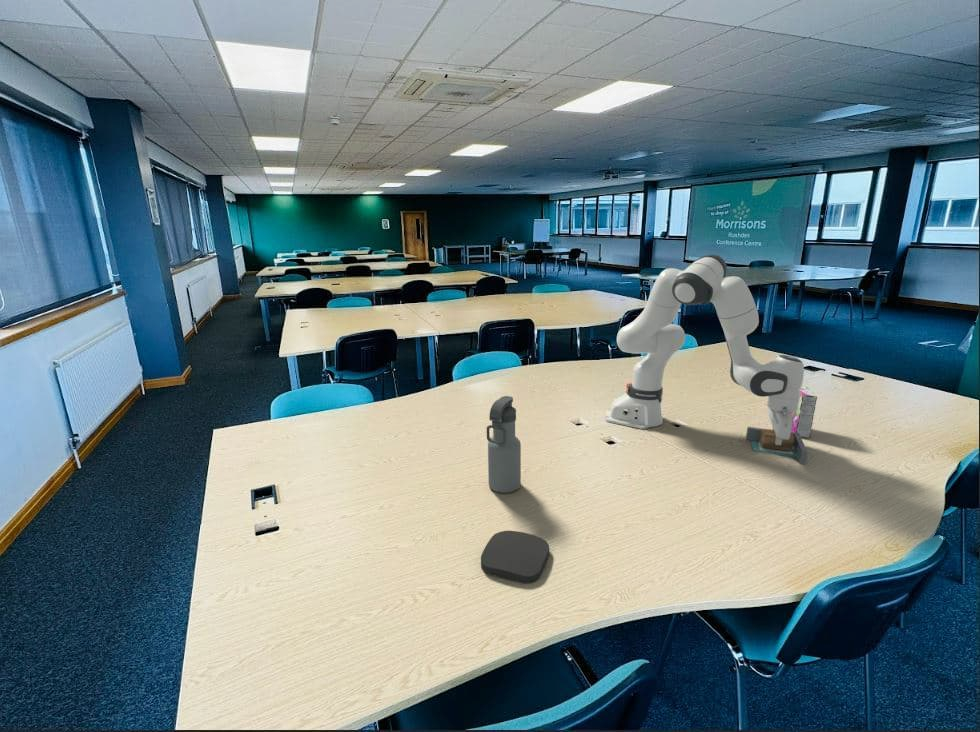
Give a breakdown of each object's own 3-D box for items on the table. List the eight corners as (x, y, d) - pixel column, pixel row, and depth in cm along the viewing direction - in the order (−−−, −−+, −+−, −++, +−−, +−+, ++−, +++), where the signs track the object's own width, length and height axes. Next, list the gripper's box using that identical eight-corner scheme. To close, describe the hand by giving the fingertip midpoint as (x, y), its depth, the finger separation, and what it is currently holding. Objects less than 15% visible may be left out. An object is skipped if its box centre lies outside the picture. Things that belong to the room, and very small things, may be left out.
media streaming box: (475, 572, 113) (475, 562, 112) (497, 535, 126) (497, 525, 125) (536, 588, 108) (536, 577, 107) (552, 548, 121) (552, 537, 120)
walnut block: (791, 450, 165) (794, 437, 163) (762, 447, 167) (764, 434, 165) (788, 444, 169) (790, 431, 167) (759, 441, 171) (761, 428, 170)
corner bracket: (749, 456, 164) (751, 444, 162) (745, 438, 177) (747, 426, 176) (805, 464, 158) (807, 451, 157) (796, 444, 171) (798, 433, 170)
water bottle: (509, 498, 142) (509, 409, 133) (481, 489, 147) (479, 402, 138) (526, 482, 150) (526, 397, 142) (499, 474, 155) (498, 392, 147)
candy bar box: (783, 425, 187) (790, 384, 182) (798, 426, 186) (805, 385, 181) (795, 437, 177) (802, 395, 172) (810, 438, 176) (818, 396, 171)
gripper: (799, 415, 153) (792, 455, 157) (788, 394, 171) (782, 430, 175) (776, 412, 155) (770, 452, 159) (768, 392, 173) (762, 427, 177)
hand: (776, 440), depth 167 cm, fingers closed on walnut block, 5 cm apart
